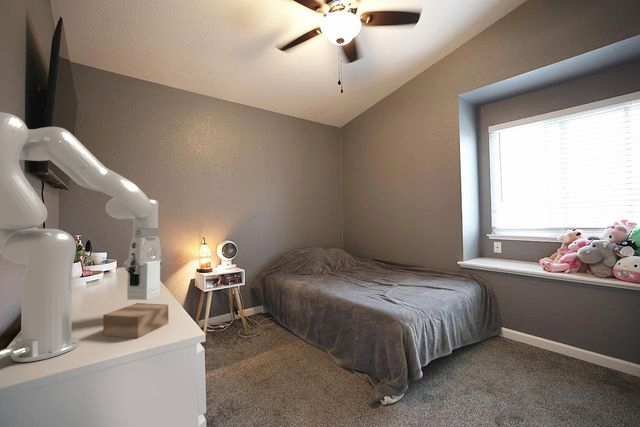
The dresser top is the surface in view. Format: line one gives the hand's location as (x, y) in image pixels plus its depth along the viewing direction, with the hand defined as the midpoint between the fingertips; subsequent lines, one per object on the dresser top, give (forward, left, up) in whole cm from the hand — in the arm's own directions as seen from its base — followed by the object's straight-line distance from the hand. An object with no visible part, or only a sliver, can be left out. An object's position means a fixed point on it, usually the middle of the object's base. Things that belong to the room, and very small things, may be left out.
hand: (144, 283), depth 102 cm
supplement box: (0, 0, -5) cm, 5 cm away
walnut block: (-11, -8, -11) cm, 18 cm away
